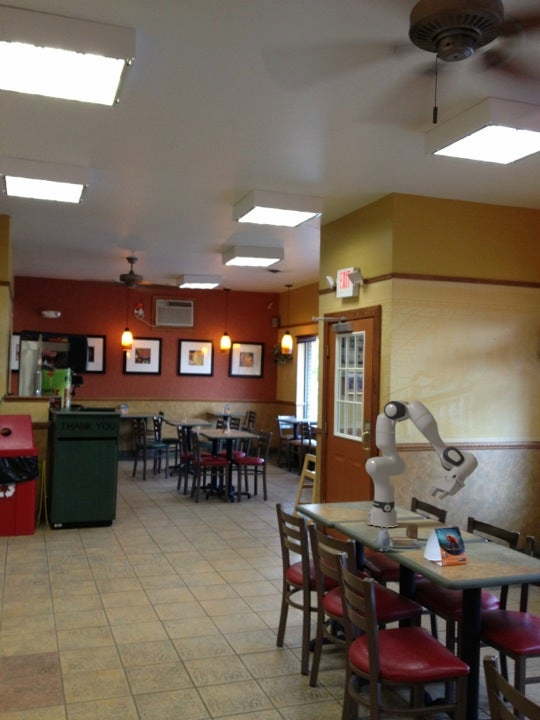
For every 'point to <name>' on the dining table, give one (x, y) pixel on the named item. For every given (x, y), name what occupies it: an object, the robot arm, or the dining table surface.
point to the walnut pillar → (412, 530)
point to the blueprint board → (405, 546)
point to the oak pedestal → (401, 540)
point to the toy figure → (383, 539)
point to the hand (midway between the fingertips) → (436, 497)
